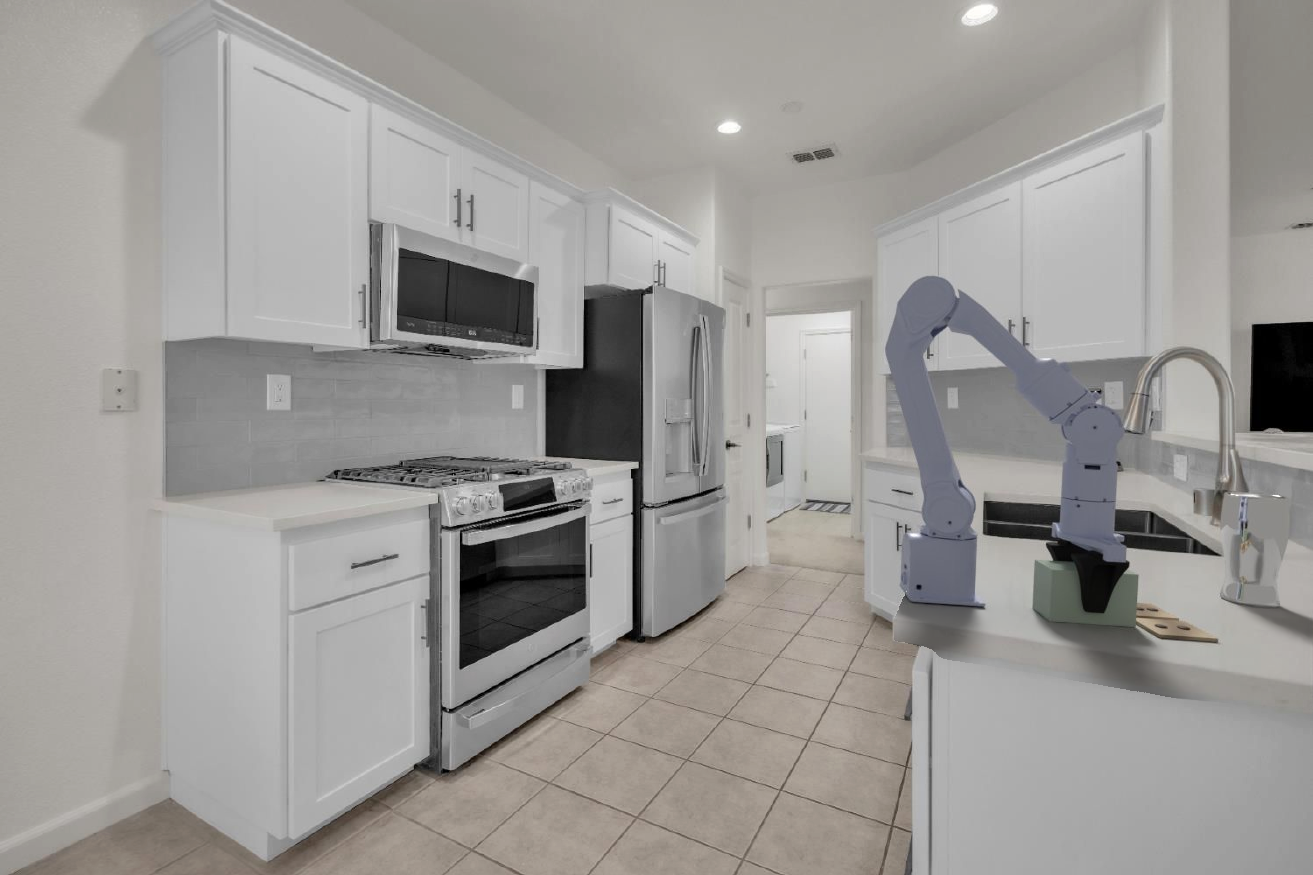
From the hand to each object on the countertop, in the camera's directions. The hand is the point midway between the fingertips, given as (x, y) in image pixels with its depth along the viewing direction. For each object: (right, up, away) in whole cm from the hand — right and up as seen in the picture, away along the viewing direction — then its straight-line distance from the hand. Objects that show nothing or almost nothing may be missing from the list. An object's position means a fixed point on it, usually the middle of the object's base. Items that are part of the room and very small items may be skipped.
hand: (1082, 604), depth 79 cm
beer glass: (+29, -2, +8) cm, 30 cm away
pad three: (+9, -2, +3) cm, 10 cm away
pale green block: (0, -2, 0) cm, 2 cm away
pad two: (+8, -2, -4) cm, 9 cm away
